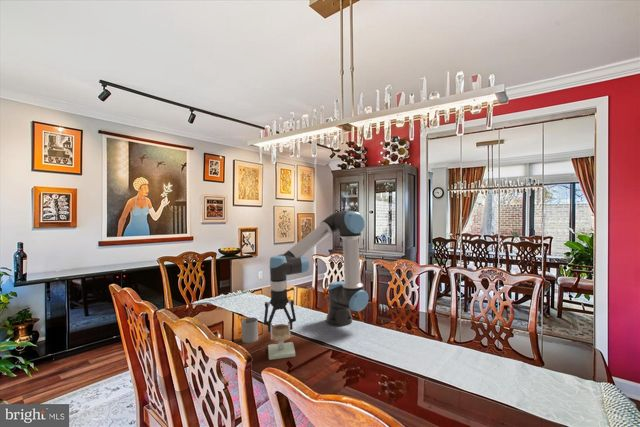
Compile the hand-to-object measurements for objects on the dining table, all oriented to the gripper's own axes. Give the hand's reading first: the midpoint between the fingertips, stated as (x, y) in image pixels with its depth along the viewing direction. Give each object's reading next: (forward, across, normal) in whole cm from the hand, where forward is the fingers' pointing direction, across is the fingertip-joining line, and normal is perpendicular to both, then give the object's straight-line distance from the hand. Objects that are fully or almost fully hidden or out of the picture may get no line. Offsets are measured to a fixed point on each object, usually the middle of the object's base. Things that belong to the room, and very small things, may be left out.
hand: (280, 337), depth 144 cm
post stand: (+7, 0, 0) cm, 7 cm away
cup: (+7, +15, -19) cm, 25 cm away
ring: (0, 0, 0) cm, 0 cm away
